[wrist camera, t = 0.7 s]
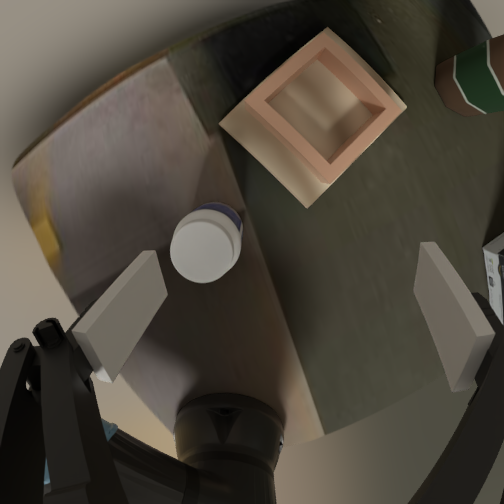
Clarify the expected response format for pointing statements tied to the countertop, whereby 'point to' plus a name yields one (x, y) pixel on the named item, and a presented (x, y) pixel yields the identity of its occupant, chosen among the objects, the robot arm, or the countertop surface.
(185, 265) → the pill bottle
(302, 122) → the board
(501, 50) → the beer bottle
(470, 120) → the countertop surface
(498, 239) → the tea box
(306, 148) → the well
